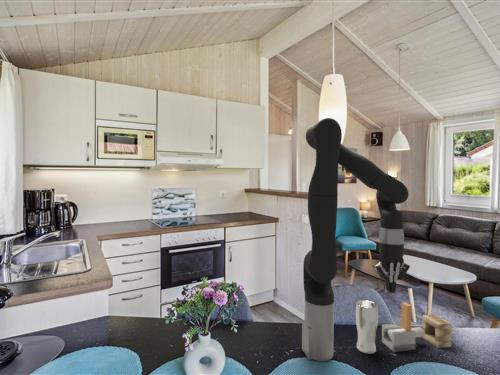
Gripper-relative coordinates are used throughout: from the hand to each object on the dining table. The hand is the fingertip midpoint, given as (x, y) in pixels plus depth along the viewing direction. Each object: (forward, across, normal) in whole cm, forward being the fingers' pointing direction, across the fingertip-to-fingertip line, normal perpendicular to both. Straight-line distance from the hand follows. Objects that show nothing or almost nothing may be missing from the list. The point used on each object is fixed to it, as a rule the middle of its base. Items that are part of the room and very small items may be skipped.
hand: (391, 292), depth 99 cm
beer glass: (+19, -9, 0) cm, 21 cm away
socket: (+19, +18, 0) cm, 26 cm away
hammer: (+16, +6, 0) cm, 17 cm away
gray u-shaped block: (+18, +3, 0) cm, 19 cm away
